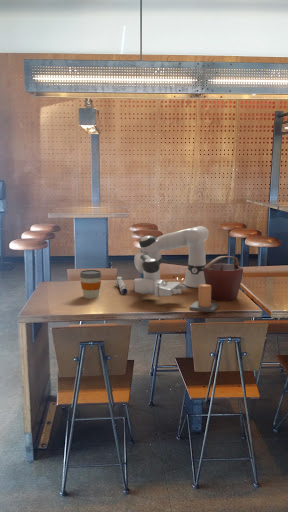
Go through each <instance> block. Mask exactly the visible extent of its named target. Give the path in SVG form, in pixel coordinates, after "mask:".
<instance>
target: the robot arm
mask: <svg viewBox="0 0 288 512" xmlns="http://www.w3.org/2000/svg"><path fill="white" fill-rule="evenodd" d="M209 236H210V231H209V229H208V228H207V227H205V226H202V225H198V226H194V227H190V228H186V229H182V230H177V231H174V232H169V233H165V234H163V235H162V234H161V235H159V236H158V237H156V236H153V235H145V236H142V237H141V238H140V239H139V241H138V243H139V247H140V249H141V251H139V252H137V253H136V254H135V255H134V258H133V259H134V260H133V262H134V266H135V268H136V270H137V271H138V273H140V274H143V278H134V280H133V291H134V292H136V293H139V294H143V295H153V296H154V297H155V298H156V297H171V296H172V295H175V294H182V290H183V291H185V290H187V287H189V288H198V287H199V285H201V284H206V283H205V277H204V267H205V266H206V265H207V263H206V261H207V260H206V255H207V252H206V250H205V242H206V241H207V240H208V238H209ZM184 247H187V249H188V264H187V270H186V272H185V277H184V281H183V282H182V284H181V282H180V281H167V282H166V281H165V280H164V279H161V272H160V271H161V270H160V268H161V267H160V265H161V264H162V262H163V261H164V259H163V255H162V254H161V251H170V250H175V249H180V248H184Z"/></svg>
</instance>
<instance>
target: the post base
mask: <svg viewBox="0 0 288 512" xmlns="http://www.w3.org/2000/svg"><path fill="white" fill-rule="evenodd" d="M219 305H220V303H217V302H211V305H210V306H209V307H201V306H199V305H198V300H195V302H194V303H192V304H191V305H190V306H189V310H190V311H198V312H199V311H200V312H207V313H214V312H215V311H216V310H217V309H218V308H219ZM217 307H218V308H217ZM216 308H217V309H216Z"/></svg>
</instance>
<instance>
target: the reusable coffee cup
mask: <svg viewBox="0 0 288 512" xmlns="http://www.w3.org/2000/svg"><path fill="white" fill-rule="evenodd" d="M79 277H80V286H81V290H82V295H83V298H84V299H96V298H99V297H100V295H99V294H100V289H101V283H102V280H101V277H102V272H101V270H98V269H97V270H96V269H86V270H80V275H79Z"/></svg>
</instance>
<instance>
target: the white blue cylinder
mask: <svg viewBox="0 0 288 512" xmlns="http://www.w3.org/2000/svg"><path fill="white" fill-rule="evenodd" d="M115 287H117V288H119V289H120V290H119V291H120V293H121V294H122V295H127V294H128V287H127V286H126V284H125V283H124V281H123V277H122V276H117V277H116V280H115Z"/></svg>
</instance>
